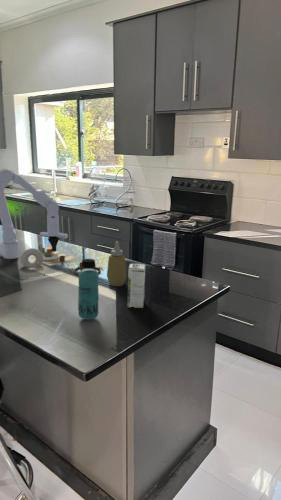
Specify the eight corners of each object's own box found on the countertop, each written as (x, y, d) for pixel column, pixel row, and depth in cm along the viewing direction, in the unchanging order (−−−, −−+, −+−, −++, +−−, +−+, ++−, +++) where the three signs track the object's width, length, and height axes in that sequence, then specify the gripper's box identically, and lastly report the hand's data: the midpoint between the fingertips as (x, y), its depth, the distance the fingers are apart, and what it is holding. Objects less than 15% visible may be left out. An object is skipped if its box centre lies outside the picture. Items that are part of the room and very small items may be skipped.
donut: (43, 267, 174) (42, 246, 172) (44, 269, 171) (43, 248, 169) (20, 269, 171) (19, 248, 168) (21, 271, 168) (20, 249, 165)
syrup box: (128, 301, 136) (128, 263, 133) (144, 302, 136) (145, 263, 133) (127, 307, 131) (127, 267, 127) (143, 308, 131) (145, 268, 127)
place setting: (73, 280, 160) (73, 267, 158) (57, 268, 176) (57, 256, 175) (110, 274, 169) (110, 262, 167) (91, 263, 185) (91, 251, 184)
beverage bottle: (79, 315, 123) (78, 256, 118) (99, 315, 124) (99, 256, 119) (77, 324, 117) (76, 262, 112) (98, 323, 118) (98, 262, 113)
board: (28, 259, 186) (28, 249, 185) (58, 254, 198) (57, 244, 197) (49, 268, 172) (49, 257, 171) (80, 262, 184) (80, 251, 183)
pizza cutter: (56, 261, 179) (56, 253, 178) (35, 260, 178) (34, 253, 177) (61, 253, 193) (61, 246, 192) (41, 252, 193) (41, 246, 192)
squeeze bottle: (129, 283, 156) (130, 241, 152) (120, 289, 149) (121, 245, 145) (112, 280, 159) (113, 238, 155) (103, 285, 152) (103, 242, 148)
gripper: (35, 225, 184) (37, 251, 188) (62, 227, 181) (63, 254, 184) (43, 222, 191) (44, 248, 194) (69, 224, 187) (70, 250, 190)
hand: (54, 251), depth 189 cm, fingers closed, pressing on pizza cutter
